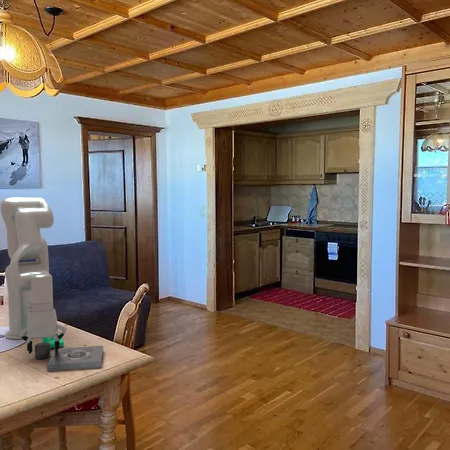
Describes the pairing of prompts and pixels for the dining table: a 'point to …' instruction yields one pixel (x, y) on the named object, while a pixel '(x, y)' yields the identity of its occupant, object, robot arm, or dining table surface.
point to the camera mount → (52, 341)
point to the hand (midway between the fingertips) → (43, 351)
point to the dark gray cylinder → (42, 351)
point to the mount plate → (75, 358)
